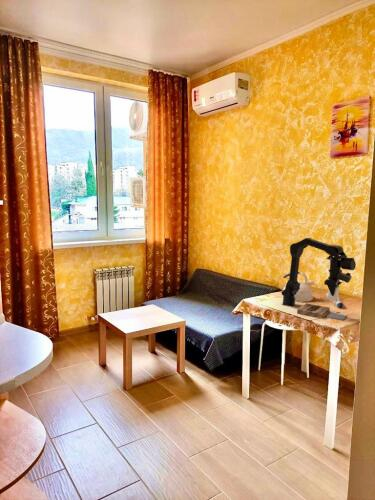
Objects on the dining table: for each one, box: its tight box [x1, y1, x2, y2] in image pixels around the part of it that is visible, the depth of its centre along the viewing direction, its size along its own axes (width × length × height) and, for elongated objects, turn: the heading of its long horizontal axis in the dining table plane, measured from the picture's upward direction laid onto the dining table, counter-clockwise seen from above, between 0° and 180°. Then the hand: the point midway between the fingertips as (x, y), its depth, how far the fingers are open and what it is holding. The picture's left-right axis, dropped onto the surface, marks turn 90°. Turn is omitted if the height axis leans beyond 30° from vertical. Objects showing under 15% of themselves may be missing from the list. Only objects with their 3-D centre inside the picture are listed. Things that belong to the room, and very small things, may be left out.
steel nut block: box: [328, 285, 340, 302], centre depth 203 cm, size 4×4×8 cm
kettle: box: [281, 271, 315, 303], centre depth 243 cm, size 20×21×18 cm
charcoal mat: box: [325, 312, 347, 322], centre depth 204 cm, size 9×9×1 cm
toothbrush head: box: [325, 290, 344, 309], centre depth 233 cm, size 5×7×25 cm
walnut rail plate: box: [296, 303, 331, 319], centre depth 211 cm, size 14×16×2 cm
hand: (333, 295), depth 203 cm, fingers closed on steel nut block, 4 cm apart
